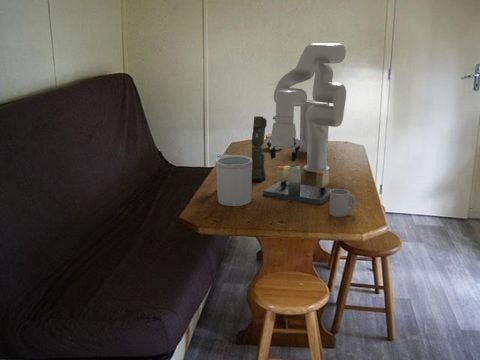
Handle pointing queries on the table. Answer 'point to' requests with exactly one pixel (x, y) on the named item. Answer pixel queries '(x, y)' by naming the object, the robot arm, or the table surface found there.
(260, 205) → the table surface
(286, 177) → the knob
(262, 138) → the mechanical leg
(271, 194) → the level plate
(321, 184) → the knob
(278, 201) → the table surface
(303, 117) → the white upright slab
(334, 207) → the cup
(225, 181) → the utensil holder
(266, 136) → the lidded jar
